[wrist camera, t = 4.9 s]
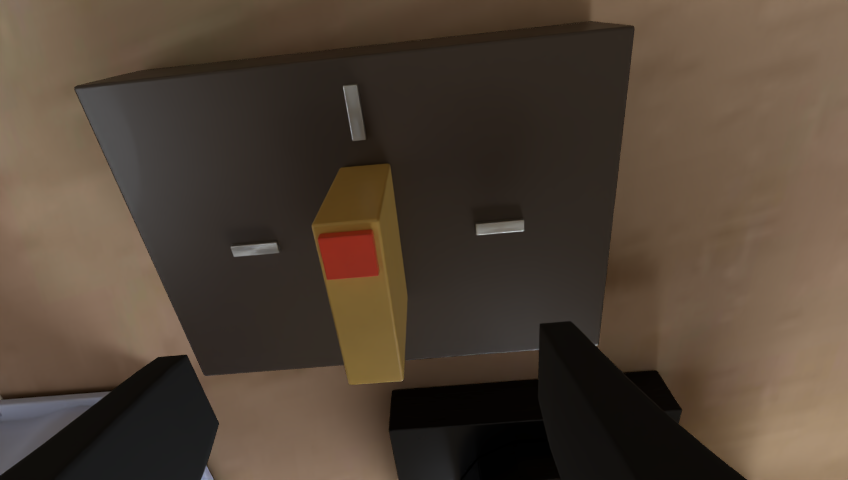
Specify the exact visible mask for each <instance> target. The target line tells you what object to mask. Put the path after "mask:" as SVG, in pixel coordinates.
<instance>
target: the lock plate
mask: <svg viewBox="0 0 848 480" xmlns="http://www.w3.org/2000/svg"><path fill="white" fill-rule="evenodd" d="M633 37H634V26H631V25H622V24H612V23H602V22H593V21H590V22H581V23H572V24H563V25H553V26H544V27H535V28H526V29H517V30H508V31H498V32H489V33H480V34H471V35H462V36H453V37H443V38H434V39H425V40H416V41H407V42H398V43H388V44H379V45H370V46H361V47H352V48H343V49H333V50H324V51H315V52H306V53H297V54H288V55H278V56H269V57H260V58H251V59H242V60H233V61H223V62H214V63H205V64H196V65H187V66H178V67H168V68H159V69H150V70H141V71H136V72H132V73H128V74H123V75H119V76H115V77H111V78H106V79H102V80H98V81H94V82H89V83H85V84H81V85H77V86H75V87H74V89H75V92H76V94H77V96H78V98H79V100H80V103H81V105H82V107H83V109H84V111H85V114H86V116H87V118H88V120H89V122H90V125H91V127H92V129H93V131H94V134H95V136H96V138H97V140H98V142H99V145H100V147H101V149H102V151H103V153H104V156H105V158H106V160H107V162H108V164H109V167H110V169H111V171H112V173H113V175H114V178H115V180H116V182H117V184H118V186H119V189H120V191H121V193H122V195H123V197H124V200H125V202H126V204H127V206H128V208H129V211H130V213H131V215H132V217H133V219H134V222H135V224H136V226H137V228H138V231H139V233H140V235H141V237H142V239H143V242H144V244H145V246H146V248H147V250H148V253H149V255H150V257H151V259H152V261H153V264H154V266H155V268H156V270H157V272H158V275H159V277H160V279H161V281H162V283H163V286H164V288H165V290H166V292H167V294H168V297H169V299H170V301H171V303H172V305H173V308H174V310H175V312H176V314H177V316H178V319H179V321H180V323H181V325H182V328H183V330H184V332H185V334H186V336H187V339H188V341H189V343H190V345H191V347H192V350H193V352H194V354H195V356H196V358H197V361H198V363H199V365H200V367H201V369H202V372H203V374H204V375H205V376H211V375H224V374H236V373H249V372H262V371H275V370H288V369H300V368H313V367H326V366H339V365H344V362H343V358H342V354H341V349H340V345H339V341H338V337H337V332H336V328H335V324H334V320H333V316H332V311H331V307H330V303H329V299H328V294H327V290H326V286H325V282H324V277H323V273H322V269H321V265H320V260H319V256H318V252H317V248H316V243H315V239H314V235H313V231H312V223H313V221H314V219H315V217H316V215H317V213H318V211H319V209H320V207H321V205H322V203H323V201H324V199H325V197H326V195H327V193H328V191H329V189H330V187H331V185H332V183H333V181H334V179H335V177H336V175H337V173H338V171H339V169H340V168H343V167H354V166H365V165H376V164H387V163H388V164H390V167H391V174H392V182H393V189H394V197H395V205H396V212H397V220H398V227H399V235H400V242H401V250H402V258H403V265H404V273H405V280H406V288H407V295H408V301H407V322H406V343H405V360H416V359H428V358H441V357H454V356H467V355H480V354H492V353H505V352H518V351H531V350H539V327H540V324H541V323H553V322H564V321H571V322H573V323H574V324H575V325H576V326H577V327H578V328H579V329H580V330H581V331H582V332H583V333H584V334H585V335H586V336H587V337H588V338H589V339H590V340H591V341H592V342H593V343H594V345H598V344H599V337H600V328H601V319H602V310H603V301H604V293H605V284H606V275H607V266H608V257H609V249H610V240H611V231H612V222H613V213H614V205H615V196H616V187H617V178H618V169H619V161H620V152H621V143H622V134H623V125H624V117H625V108H626V99H627V90H628V81H629V73H630V64H631V55H632V46H633Z"/></svg>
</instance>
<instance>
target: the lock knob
mask: <svg viewBox="0 0 848 480" xmlns="http://www.w3.org/2000/svg"><path fill="white" fill-rule="evenodd" d="M312 231H313V235H314V239H315V243H316V248H317V252H318V256H319V260H320V265H321V269H322V273H323V277H324V282H325V286H326V290H327V294H328V299H329V303H330V307H331V311H332V316H333V320H334V324H335V328H336V332H337V337H338V341H339V345H340V349H341V354H342V358H343V362H344V366H345V371H346V375H347V379H348V383H349V384H350V385H355V384H369V383H384V382H398V381H403V379H404V364H405V343H406V322H407V301H408V295H407V288H406V280H405V273H404V265H403V258H402V250H401V242H400V235H399V227H398V220H397V212H396V205H395V197H394V189H393V182H392V174H391V167H390V164H388V163H387V164H376V165H365V166H354V167H343V168H340V169H339V171H338V173H337V175H336V177H335V179H334V181H333V183H332V185H331V187H330V189H329V191H328V193H327V195H326V197H325V199H324V201H323V203H322V205H321V207H320V209H319V211H318V213H317V215H316V217H315V219H314V221H313V223H312Z"/></svg>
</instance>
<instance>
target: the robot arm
mask: <svg viewBox="0 0 848 480" xmlns="http://www.w3.org/2000/svg"><path fill="white" fill-rule="evenodd" d="M538 400H539V404H540V408H541V413H542V417H543V421H544V426H545V430H546V434H547V438H548V442H549V446H550V449H551V452H552V455H553V458H554V461H555V464H556V467H557V469H558V472H559V475H560V478H561V480H747V479H745V478H744V477H743V476H742V475H740V474H739V473H738V472H736V471H735V470H734V469H733V468H731V467H730V466H729V465H728V464H726V463H725V462H724V461H723V460H721V459H720V458H719V457H718V456H716V455H715V454H714V453H713V452H711V451H710V450H709V449H708V448H707V447H705V446H704V445H703V444H702V443H701V442H699V441H698V440H697V439H696V438H695V437H694V436H692V435H691V434H690V433H689V432H688V431H686V430H685V429H684V428H683V427H682V426H680V425H679V424H678V423H677V422H676V421H675V420H674V419H673V418H671V417H670V416H669V415H668V414H667V413H666V412H665V411H663V410H662V409H661V408H660V407H659V406H658V405H657V404H656V403H655V402H654V401H653V400H651V399H650V398H649V397H648V396H647V395H646V394H645V393H644V392H643V391H642V390H641V389H640V388H638V387H637V386H636V385H635V384H634V383H633V382H632V381H631V380H630V379H629V378H628V377H627V376H626V375H625V374H624V373H623V372H622V371H621V370H619V369H618V368H617V367H616V366H615V365H614V364H613V363H612V362H611V361H610V360H609V359H608V358H607V357H606V356H605V355H604V354H603V353H602V352H601V351H600V350H599V349H598V348H597V347H596V346H595V345H594V343H593V342H592V341H591V340H590V339H589V338H588V337H587V336H586V335H585V334H584V333H583V332H582V331H581V330H580V329H579V328H578V327H577V326H576V325H575V324H574V323H573V322H571V321H564V322H553V323H541V324H540V327H539V373H538ZM218 425H219V422H218V420H217V418H216V416H215V414H214V412H213V409H212V407H211V405H210V403H209V401H208V399H207V397H206V395H205V392H204V390H203V388H202V386H201V384H200V382H199V380H198V378H197V375H196V373H195V371H194V369H193V367H192V365H191V363H190V361H189V358H188V356H187V355H178V356H167V357H158V358H156V359H155V360H153V361H152V362H150V363H149V364H147V365H146V366H145V367H143V368H142V369H140V370H139V371H138V372H136V373H135V374H134V375H132V376H131V377H130V378H128V379H127V380H126V381H124V382H123V383H122V384H120V385H119V386H118V387H116V388H115V389H114V390H112V391H109V392H96V393H83V394H70V395H57V396H44V397H31V398H18V399H5V400H0V480H214V479H213V477H212V475H211V473H210V471H209V469H208V467H207V462H208V459H209V456H210V452H211V449H212V446H213V442H214V439H215V436H216V432H217V429H218Z"/></svg>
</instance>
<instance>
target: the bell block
mask: <svg viewBox="0 0 848 480" xmlns="http://www.w3.org/2000/svg"><path fill="white" fill-rule="evenodd" d="M624 374H625V375H626V376H627V377H628V378H629V379H630V380H631V381H632V382H633V383H634V384H635V385H636V386H637V387H638V388H640V389H641V390H642V391H643V392H644V393H645V394H646V395H647V396H648V397H649V398H650V399H651V400H653V401H654V402H655V403H656V404H657V405H658V406H659V407H660V408H661V409H662V410H663V411H665V412H666V413H667V414H668V415H669V416H670V417H671V418H673V419H674V420H675V421H676V422H677V423H678V424H679V420H680V416H681V412H682V409H681V407H680V406H679V404H678V403H677V401H676V400H675V398H674V397H673V395H672V393H671V392H670V390H669V389H668V387H667V386H666V384H665V383H664V381H663V379H662V378H661V376H660V375H659V373H658V372H657V371H646V372H632V373H624ZM389 434H390V439H391V444H392V449H393V454H394V459H395V464H396V469H397V474H398V479H399V480H561V478H560V475H559V472H558V469H557V467H556V464H555V461H554V458H553V455H552V452H551V449H550V446H549V442H548V438H547V434H546V430H545V426H544V421H543V417H542V413H541V408H540V404H539V400H538V380H526V381H513V382H500V383H486V384H473V385H460V386H446V387H433V388H420V389H407V390H393V391H392V396H391V409H390V422H389Z"/></svg>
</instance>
